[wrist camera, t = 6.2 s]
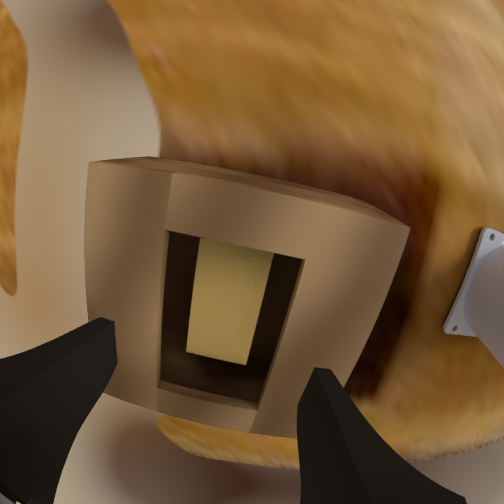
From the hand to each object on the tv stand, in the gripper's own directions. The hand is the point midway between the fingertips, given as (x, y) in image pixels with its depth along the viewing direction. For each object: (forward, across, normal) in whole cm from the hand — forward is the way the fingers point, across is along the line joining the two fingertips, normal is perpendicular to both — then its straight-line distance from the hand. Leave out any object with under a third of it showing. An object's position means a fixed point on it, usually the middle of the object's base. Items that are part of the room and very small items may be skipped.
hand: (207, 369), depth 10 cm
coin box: (+8, 0, 0) cm, 8 cm away
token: (+8, 0, 0) cm, 8 cm away
